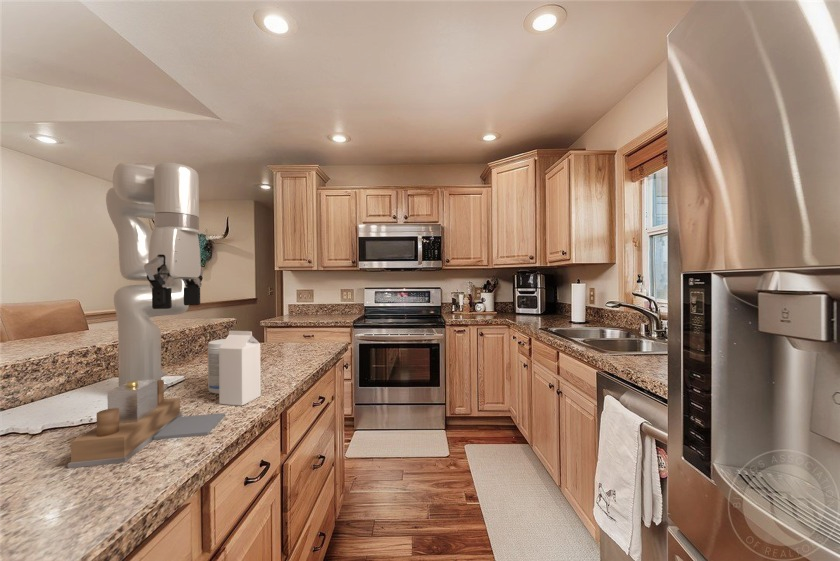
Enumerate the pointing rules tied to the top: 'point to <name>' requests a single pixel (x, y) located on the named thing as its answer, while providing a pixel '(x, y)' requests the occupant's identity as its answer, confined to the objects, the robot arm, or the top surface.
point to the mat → (190, 426)
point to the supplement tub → (213, 365)
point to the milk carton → (239, 369)
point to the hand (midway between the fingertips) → (178, 306)
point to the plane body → (122, 434)
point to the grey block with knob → (134, 400)
